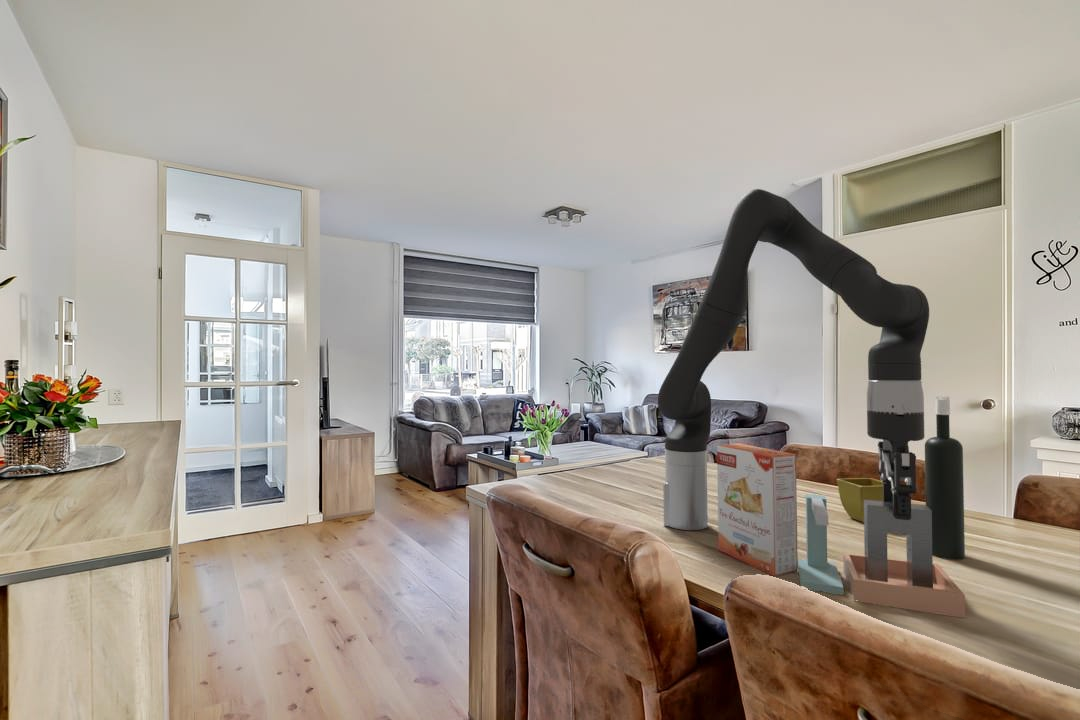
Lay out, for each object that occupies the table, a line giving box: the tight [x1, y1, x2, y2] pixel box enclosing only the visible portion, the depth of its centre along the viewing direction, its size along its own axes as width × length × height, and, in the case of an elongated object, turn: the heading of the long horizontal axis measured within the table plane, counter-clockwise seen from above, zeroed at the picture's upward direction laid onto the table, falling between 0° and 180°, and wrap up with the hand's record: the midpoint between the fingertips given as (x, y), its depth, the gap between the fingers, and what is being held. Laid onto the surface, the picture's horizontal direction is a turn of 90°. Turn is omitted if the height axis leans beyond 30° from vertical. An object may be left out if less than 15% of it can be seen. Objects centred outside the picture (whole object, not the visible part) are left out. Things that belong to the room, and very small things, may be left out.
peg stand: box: [797, 493, 845, 596], centre depth 86 cm, size 6×14×13 cm, turn 156°
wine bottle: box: [924, 396, 966, 561], centre depth 99 cm, size 6×6×30 cm
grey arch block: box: [863, 500, 934, 588], centre depth 83 cm, size 8×4×13 cm, turn 66°
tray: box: [842, 552, 966, 619], centre depth 82 cm, size 14×13×3 cm
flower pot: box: [836, 477, 883, 524], centre depth 121 cm, size 9×9×9 cm
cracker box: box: [716, 442, 799, 577], centre depth 96 cm, size 14×6×21 cm, turn 22°
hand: (896, 512), depth 83 cm, fingers open, 7 cm apart
